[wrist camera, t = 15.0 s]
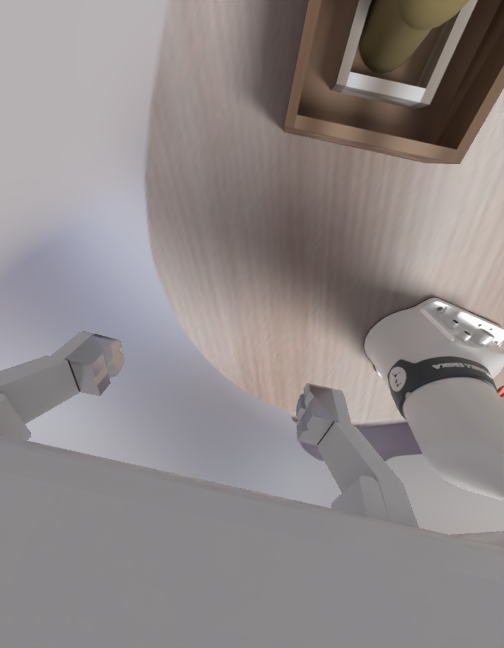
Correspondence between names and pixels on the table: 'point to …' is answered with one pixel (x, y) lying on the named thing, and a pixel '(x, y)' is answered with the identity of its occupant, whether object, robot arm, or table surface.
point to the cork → (400, 29)
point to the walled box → (398, 83)
